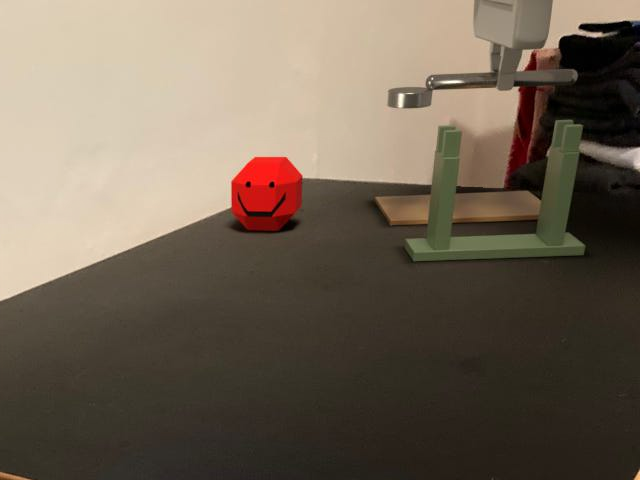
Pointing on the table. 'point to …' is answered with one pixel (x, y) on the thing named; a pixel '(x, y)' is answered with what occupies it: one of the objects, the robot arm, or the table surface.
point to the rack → (541, 244)
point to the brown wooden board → (463, 207)
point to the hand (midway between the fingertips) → (500, 88)
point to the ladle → (473, 85)
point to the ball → (266, 193)
